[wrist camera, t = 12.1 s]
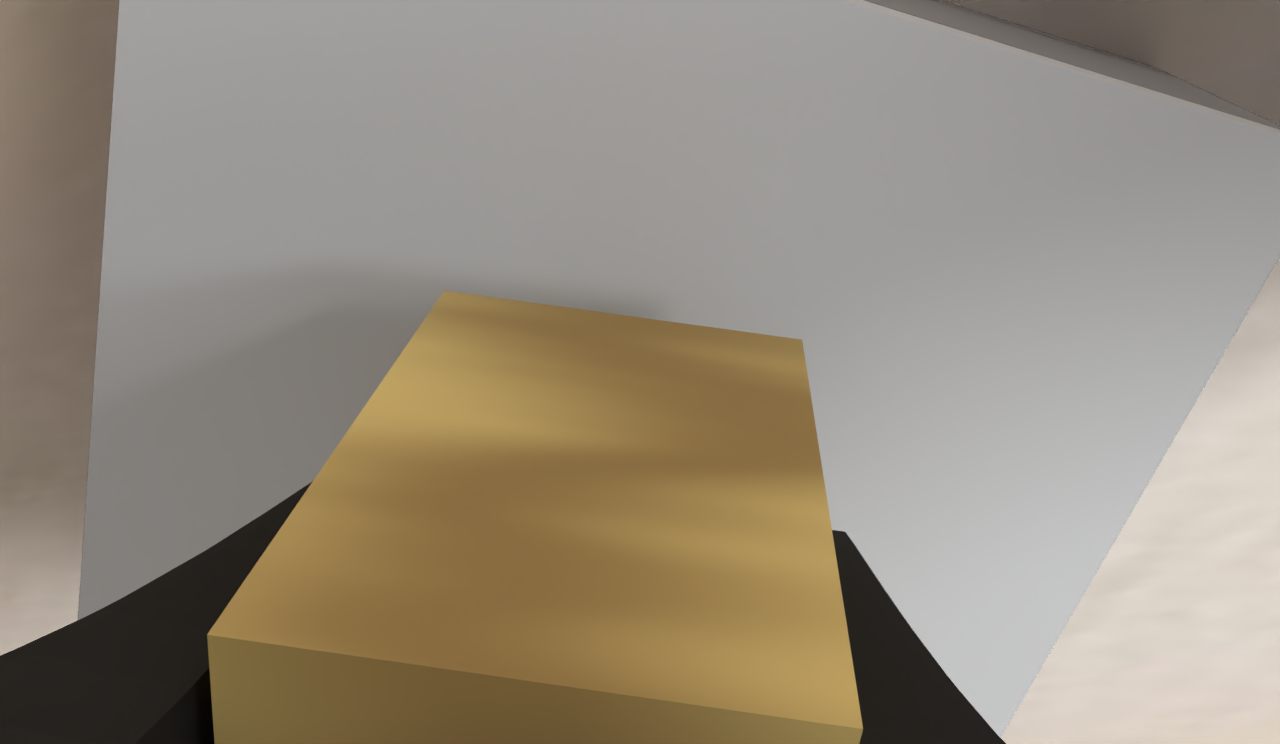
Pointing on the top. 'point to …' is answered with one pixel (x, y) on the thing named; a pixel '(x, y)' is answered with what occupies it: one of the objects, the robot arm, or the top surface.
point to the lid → (676, 262)
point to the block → (554, 549)
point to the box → (1065, 52)
